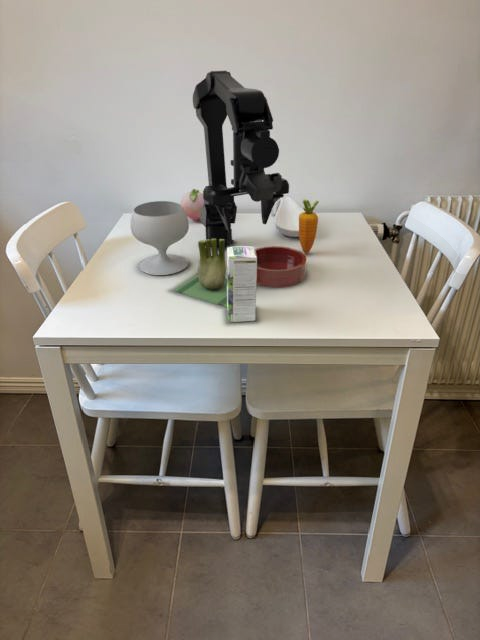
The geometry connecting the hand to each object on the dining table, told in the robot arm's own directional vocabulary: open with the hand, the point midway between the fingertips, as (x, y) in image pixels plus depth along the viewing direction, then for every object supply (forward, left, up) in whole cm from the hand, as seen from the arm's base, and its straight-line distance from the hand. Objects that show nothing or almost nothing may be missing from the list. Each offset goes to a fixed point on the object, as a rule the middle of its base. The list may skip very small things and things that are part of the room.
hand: (246, 227), depth 109 cm
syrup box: (+8, -15, -13) cm, 22 cm away
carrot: (+6, +20, -13) cm, 25 cm away
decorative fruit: (-35, +26, -13) cm, 46 cm away
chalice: (-22, -5, -13) cm, 26 cm away
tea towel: (-4, -9, -13) cm, 16 cm away
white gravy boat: (-7, +36, -13) cm, 39 cm away
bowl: (+5, +6, -13) cm, 15 cm away
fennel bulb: (-4, -9, -13) cm, 16 cm away
